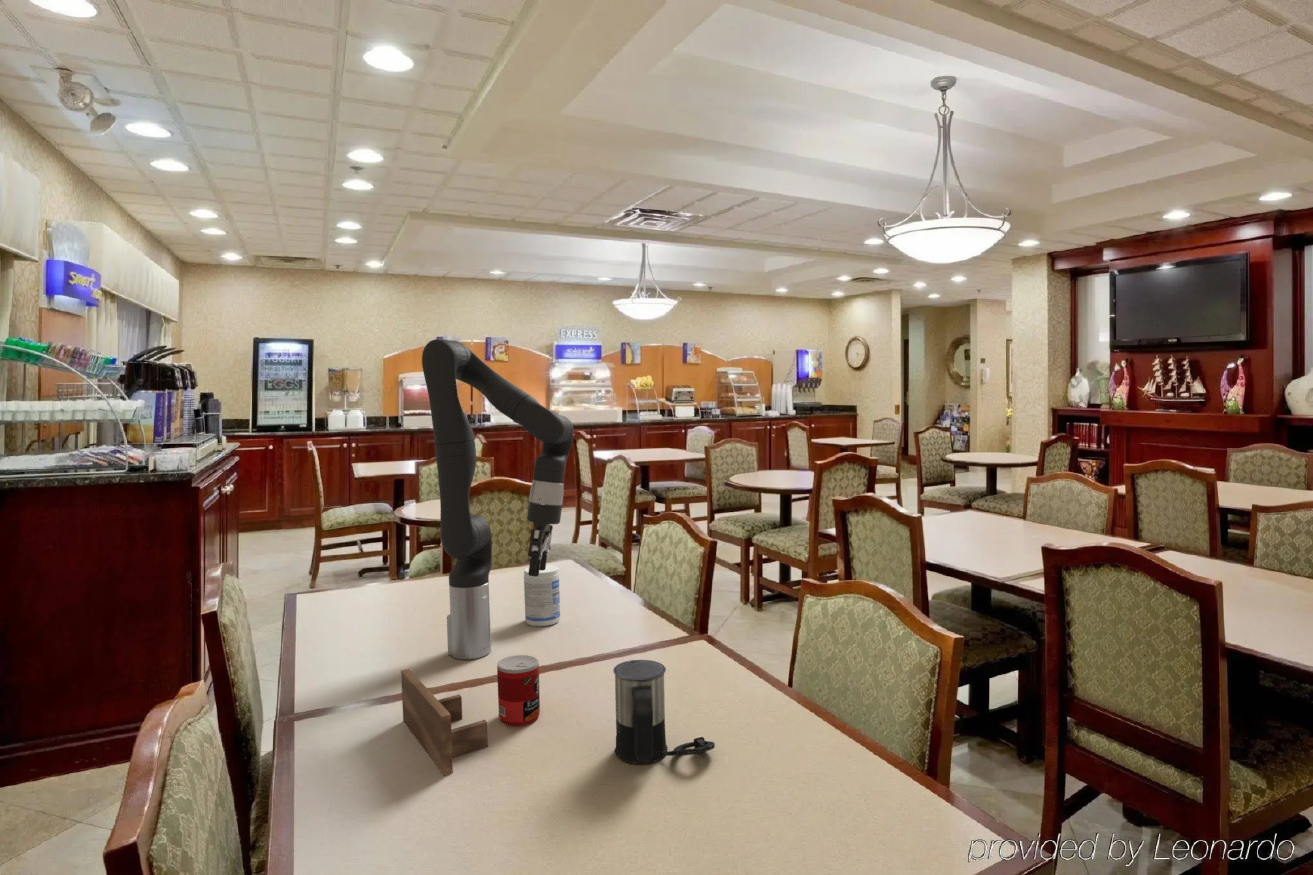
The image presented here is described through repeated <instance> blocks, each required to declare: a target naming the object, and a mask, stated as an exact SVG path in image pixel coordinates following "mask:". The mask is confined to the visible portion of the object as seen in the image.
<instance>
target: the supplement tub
mask: <svg viewBox="0 0 1313 875" xmlns="http://www.w3.org/2000/svg"><path fill="white" fill-rule="evenodd" d="M528 573H529V567H526V568H524V571H523V588H524V589H523V590H524V594H523V596H524V612H525V613H524V618H525V622H526V624H527V625H528V626H529V625H530V626H532V627H546V626H551V625H552V626H553V625H554V624H557V623H558V622H559V621H560V620H561V599H560V598H561V597H560V596H561V592H560V591H561V590H560V572H559V567H557V565H556V566H555V565H552V564H551V565H549V564H546V569H545V570H543V571H542V570H539V575H538V576H537V577H535V576H529V574H528Z"/></svg>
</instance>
